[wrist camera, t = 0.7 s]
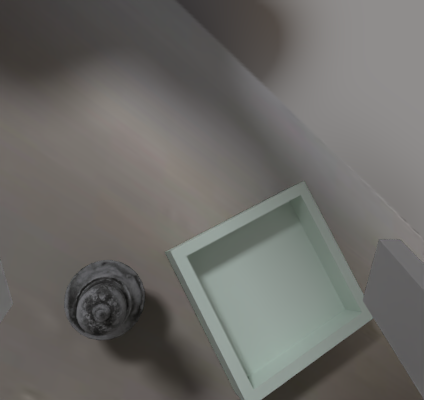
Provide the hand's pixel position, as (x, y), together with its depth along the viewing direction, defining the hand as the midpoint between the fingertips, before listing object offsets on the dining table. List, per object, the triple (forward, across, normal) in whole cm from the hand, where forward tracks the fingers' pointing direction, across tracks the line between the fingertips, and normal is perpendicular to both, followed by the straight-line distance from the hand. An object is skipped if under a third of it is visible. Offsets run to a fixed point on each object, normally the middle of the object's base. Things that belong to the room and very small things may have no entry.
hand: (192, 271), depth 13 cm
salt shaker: (+14, -7, -13) cm, 21 cm away
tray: (+17, +7, -14) cm, 23 cm away
